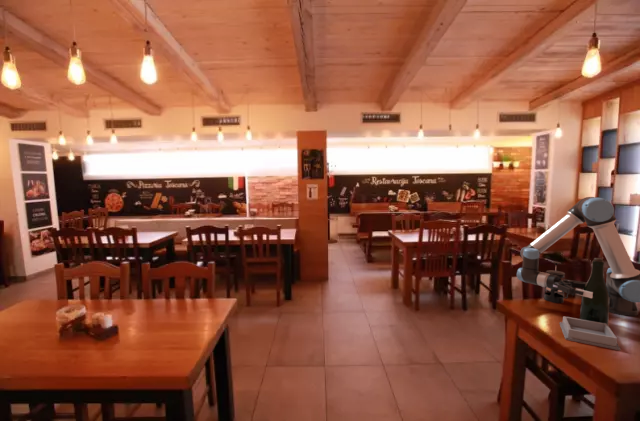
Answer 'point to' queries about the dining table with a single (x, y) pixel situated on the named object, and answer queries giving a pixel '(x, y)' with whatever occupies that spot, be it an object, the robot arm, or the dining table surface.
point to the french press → (553, 294)
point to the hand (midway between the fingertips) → (598, 292)
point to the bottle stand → (589, 332)
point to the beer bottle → (596, 295)
